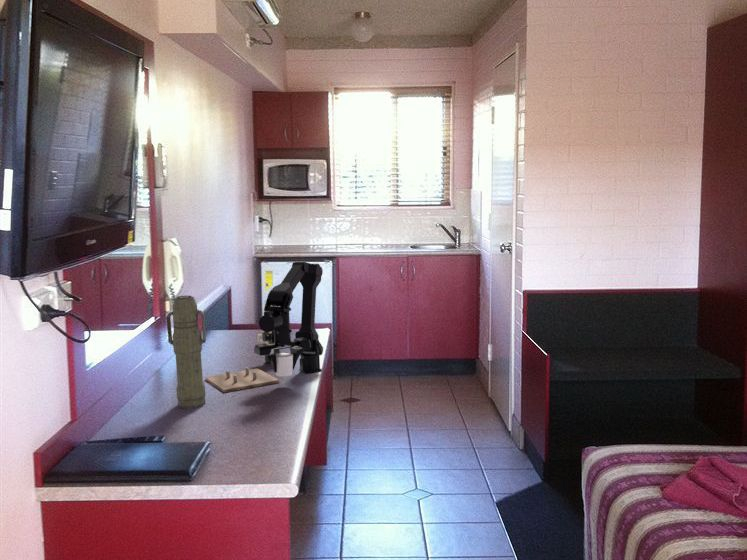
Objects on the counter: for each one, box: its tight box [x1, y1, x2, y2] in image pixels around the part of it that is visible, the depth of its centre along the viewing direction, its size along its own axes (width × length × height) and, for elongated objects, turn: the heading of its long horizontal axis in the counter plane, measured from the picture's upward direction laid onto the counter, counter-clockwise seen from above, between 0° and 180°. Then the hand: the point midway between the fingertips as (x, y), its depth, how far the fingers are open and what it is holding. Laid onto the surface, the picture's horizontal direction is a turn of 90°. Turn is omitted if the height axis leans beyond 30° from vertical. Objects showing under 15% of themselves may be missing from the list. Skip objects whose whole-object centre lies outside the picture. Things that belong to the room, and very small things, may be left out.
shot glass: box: [275, 351, 294, 378], centre depth 268 cm, size 7×7×7 cm
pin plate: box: [204, 367, 280, 393], centre depth 277 cm, size 20×20×4 cm
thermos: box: [165, 295, 207, 409], centre depth 250 cm, size 9×12×35 cm
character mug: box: [256, 330, 281, 363], centre depth 302 cm, size 11×7×13 cm, turn 92°
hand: (284, 370), depth 268 cm, fingers closed on shot glass, 6 cm apart
